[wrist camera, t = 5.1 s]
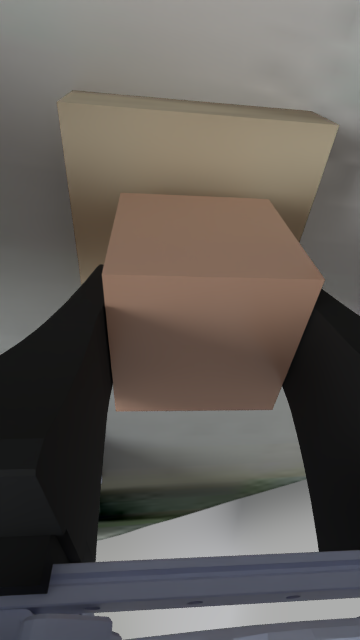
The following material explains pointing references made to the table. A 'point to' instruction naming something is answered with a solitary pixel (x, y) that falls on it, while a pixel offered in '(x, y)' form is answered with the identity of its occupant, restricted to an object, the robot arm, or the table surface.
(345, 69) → the table surface
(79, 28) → the table surface
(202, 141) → the oak block
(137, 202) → the terracotta cube
